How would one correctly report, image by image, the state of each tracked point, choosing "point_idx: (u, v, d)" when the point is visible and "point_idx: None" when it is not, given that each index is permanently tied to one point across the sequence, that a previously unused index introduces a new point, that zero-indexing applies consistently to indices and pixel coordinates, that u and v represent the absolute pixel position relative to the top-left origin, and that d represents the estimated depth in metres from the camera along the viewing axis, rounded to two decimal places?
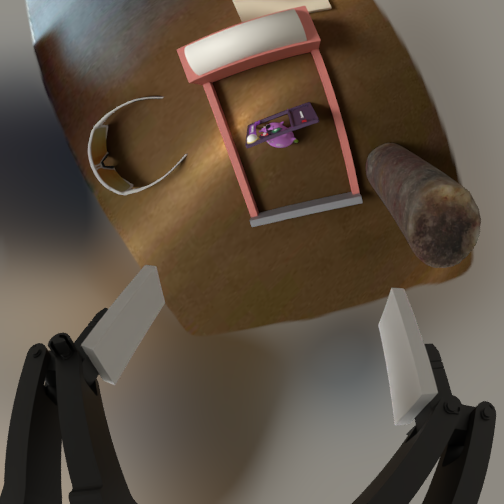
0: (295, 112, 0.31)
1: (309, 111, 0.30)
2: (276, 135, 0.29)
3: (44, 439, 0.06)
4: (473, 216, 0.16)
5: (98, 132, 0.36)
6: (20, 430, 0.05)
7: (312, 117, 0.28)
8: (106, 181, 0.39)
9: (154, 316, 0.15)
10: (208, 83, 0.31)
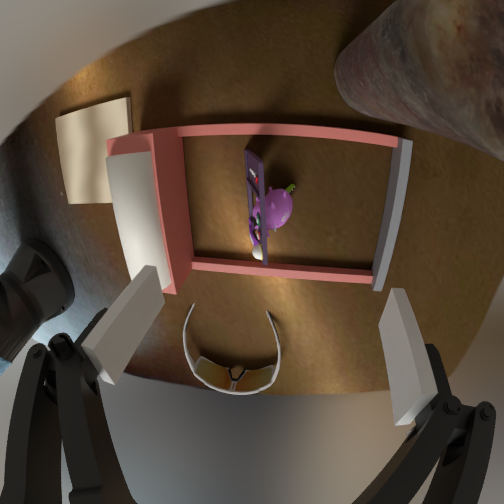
0: (250, 175, 0.25)
1: (252, 159, 0.23)
2: (264, 225, 0.22)
3: (44, 439, 0.06)
4: None
5: (201, 369, 0.41)
6: (20, 430, 0.05)
7: (257, 164, 0.21)
8: (251, 387, 0.39)
9: (154, 316, 0.15)
10: (192, 263, 0.31)
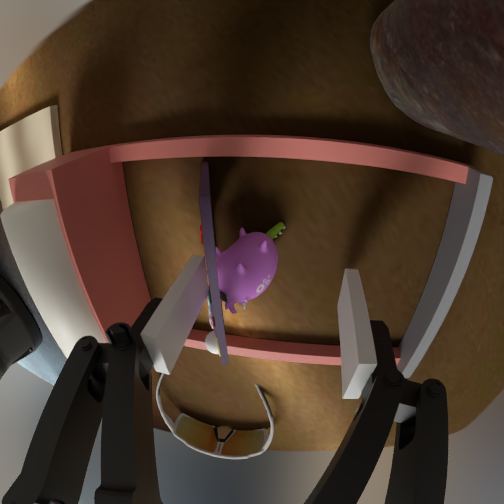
0: None
1: None
2: (218, 313, 0.12)
3: (76, 436, 0.07)
4: None
5: (182, 427, 0.31)
6: (52, 425, 0.06)
7: None
8: (240, 451, 0.29)
9: (200, 306, 0.16)
10: None
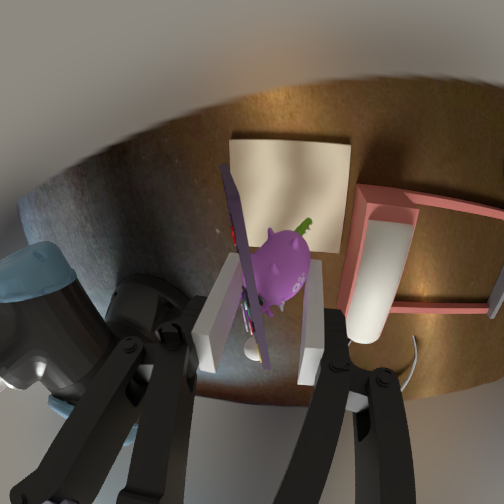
0: None
1: None
2: (257, 317, 0.11)
3: (105, 440, 0.07)
4: None
5: None
6: (80, 426, 0.06)
7: None
8: None
9: (237, 303, 0.16)
10: None
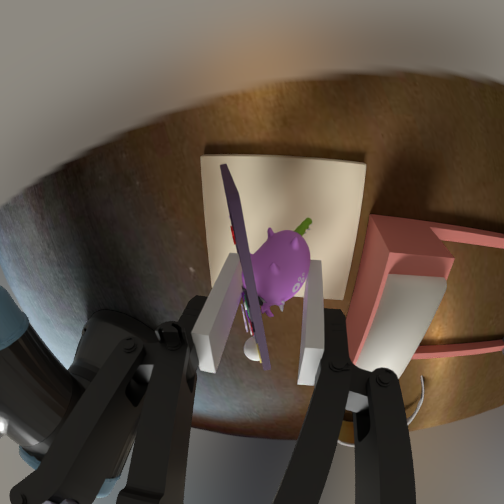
0: None
1: None
2: (257, 317, 0.11)
3: (105, 440, 0.07)
4: None
5: None
6: (80, 426, 0.06)
7: None
8: None
9: (237, 303, 0.16)
10: None
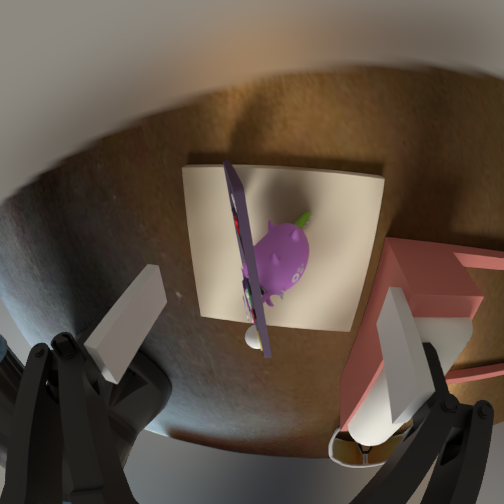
0: None
1: None
2: (259, 304, 0.12)
3: (46, 439, 0.06)
4: None
5: (335, 450, 0.31)
6: (22, 429, 0.05)
7: None
8: (383, 457, 0.29)
9: (157, 315, 0.15)
10: None
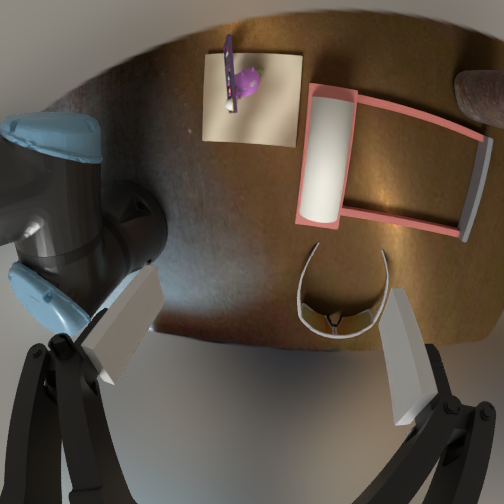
0: (226, 61, 0.26)
1: (226, 46, 0.24)
2: (233, 77, 0.23)
3: (44, 439, 0.06)
4: None
5: (304, 315, 0.43)
6: (20, 430, 0.05)
7: (228, 41, 0.22)
8: (352, 331, 0.42)
9: (154, 316, 0.15)
10: None
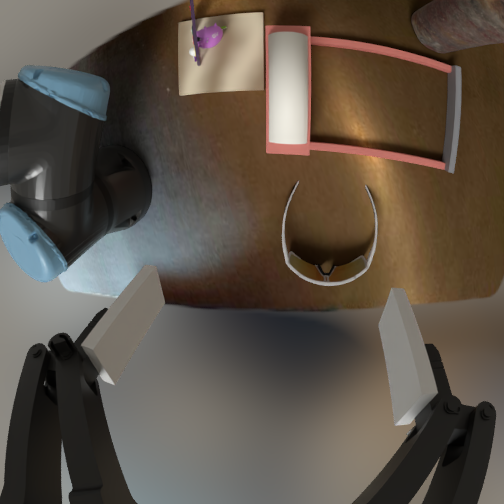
0: None
1: None
2: (194, 29, 0.23)
3: (44, 439, 0.06)
4: None
5: (293, 263, 0.42)
6: (20, 429, 0.05)
7: None
8: (345, 278, 0.40)
9: (154, 316, 0.15)
10: (309, 143, 0.33)
